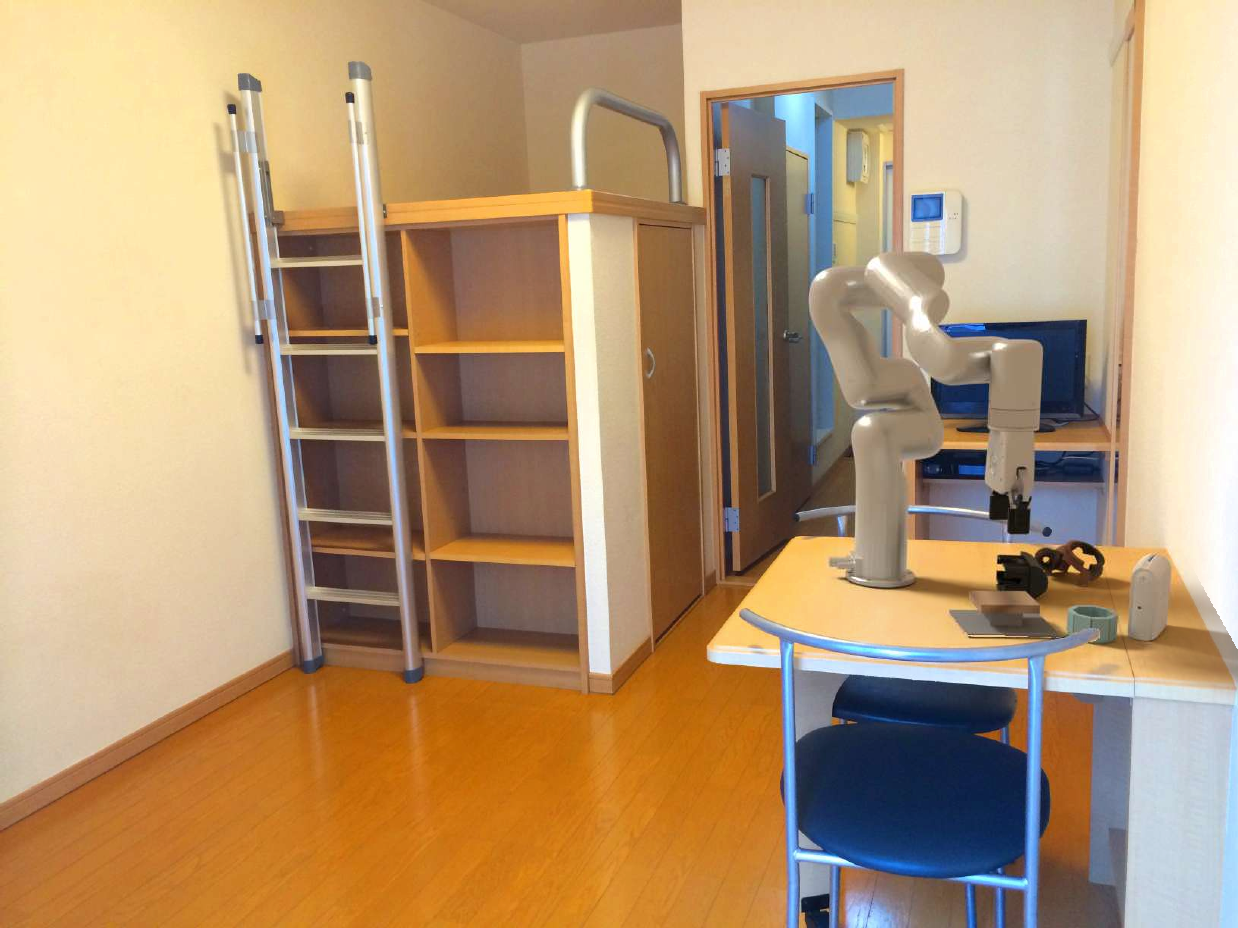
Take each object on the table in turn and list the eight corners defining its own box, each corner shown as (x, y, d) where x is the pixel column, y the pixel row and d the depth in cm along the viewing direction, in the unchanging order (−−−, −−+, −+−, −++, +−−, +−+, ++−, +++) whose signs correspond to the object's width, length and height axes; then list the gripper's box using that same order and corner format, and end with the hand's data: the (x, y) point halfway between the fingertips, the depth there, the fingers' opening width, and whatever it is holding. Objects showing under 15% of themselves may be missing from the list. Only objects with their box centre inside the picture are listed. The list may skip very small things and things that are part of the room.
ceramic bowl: (1076, 643, 155) (1078, 618, 154) (1061, 629, 162) (1063, 605, 161) (1121, 644, 155) (1123, 618, 154) (1104, 629, 161) (1106, 605, 160)
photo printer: (1154, 643, 155) (1160, 565, 152) (1123, 637, 157) (1129, 560, 155) (1170, 625, 162) (1176, 550, 160) (1140, 620, 165) (1146, 546, 163)
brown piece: (1078, 572, 195) (1100, 541, 190) (1093, 607, 187) (1117, 575, 182) (1019, 558, 194) (1040, 526, 189) (1032, 592, 186) (1054, 560, 181)
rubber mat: (967, 637, 159) (968, 617, 158) (949, 612, 170) (949, 594, 170) (1060, 638, 157) (1061, 618, 157) (1035, 613, 169) (1036, 595, 169)
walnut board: (981, 613, 160) (981, 604, 160) (968, 598, 167) (969, 590, 167) (1039, 613, 159) (1040, 605, 159) (1024, 599, 167) (1025, 591, 166)
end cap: (1047, 604, 174) (1049, 566, 173) (1004, 602, 176) (1005, 564, 175) (1036, 587, 184) (1038, 551, 183) (995, 585, 186) (997, 549, 184)
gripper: (973, 413, 167) (969, 514, 170) (1005, 427, 150) (1000, 539, 153) (1020, 412, 166) (1015, 514, 169) (1057, 426, 149) (1051, 539, 152)
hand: (1008, 526), depth 161 cm, fingers open, 9 cm apart
